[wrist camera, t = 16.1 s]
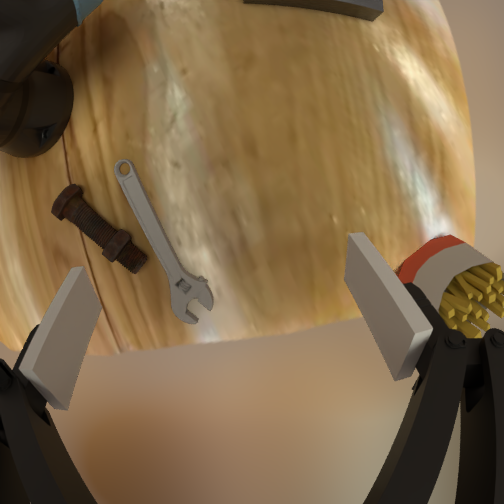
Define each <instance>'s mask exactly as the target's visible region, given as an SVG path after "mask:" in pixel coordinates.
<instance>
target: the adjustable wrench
mask: <svg viewBox="0 0 504 504" xmlns="http://www.w3.org/2000/svg"><path fill="white" fill-rule="evenodd" d="M122 163H128V164H129V166H130V172H129V173H128V174H127V175H122V174H121V173H120V171H119V167H120V165H121V164H122ZM114 172H115V175H116V177H117V179H118V181H119V183H120V185H121V187H122V190H123V192H124V194H125V196H126V198H127V200H128V202H129V204H130V206H131V208H132V210H133V212H134V214H135V216H136V218H137V220H138V221H139V223H140V225H141V227H142V229H143V231H144V233H145V235H146V237H147V239H148V240H149V242H150V244H151V246H152V248H153V250H154V252H155V253H156V255H157V257H158V259H159V261H160V262H161V264H162V266H163V268H164V270H165V271H166V274H167V276H168V279H169V284H170V291H171V307H172V310H173V312H174V314H175V315H176V316H177V317H178V318H179V319H180V320H182V321H183V322H186V323H188V324H196V323H198V319H199V318H197V317H196V316H195V315H193V314H192V313H191V312H190V311H188V310H187V304H188V302H190V301H191V299H195V298H198V302H199V303H201V304H202V305H203V306H204V307H206V308H207V309H208V310H209V311H211V310H212V307H213V295H212V292H211V290H210V288H209V286H208V285H207V282H208V280H207V279H204V277H202V276H200V277H199V278H198V277H196V276H194V275H192V274H190V273H189V272H188V271H186V270H185V268H184V267H183V266H182V264H181V263H180V261H179V259H178V257H177V255H176V253H175V251H174V249H173V247H172V245H171V243H170V241H169V239H168V237H167V235H166V233H165V231H164V229H163V227H162V225H161V223H160V221H159V219H158V217H157V215H156V212H155V210H154V208H153V206H152V204H151V202H150V200H149V198H148V195H147V193H146V191H145V189H144V187H143V184H142V182H141V180H140V178H139V176H138V173H137V171H136V169H135V167H134V164H133V163H132V161H130V160H128V159H123V160H119V161H118V162H117V163H116V164H115V167H114ZM181 278H182V280H180V279H181ZM179 280H180V282H179V283H177V282H178V281H179Z"/></svg>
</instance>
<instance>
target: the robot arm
mask: <svg viewBox="0 0 504 504" xmlns="http://www.w3.org/2000/svg"><path fill="white" fill-rule="evenodd" d="M102 1H103V0H0V150H1V151H3V152H5V153H8V154H10V155H12V156H15V157H21V158H25V157H33V156H37V155H40V154H42V153H44V152H46V151H47V150H48V149H50V148H51V147H52V146H53V145H54V144H55V143H56V142H57V140H58V139H59V138H60V136H61V135H62V133H63V131H64V129H65V127H66V125H67V123H68V120H69V118H70V114H71V110H72V105H73V87H72V82H71V79H70V77H69V75H68V73H67V71H66V70H65V69H64V68H63V67H62V66H60V65H59V64H56V63H54V62H51V61H48V60H43V59H44V58H45V57H46V56H47V55H48V54H49V53H50V52H51V51H52V50H53V49H54V48H55V47H56V46H57V45H58V43H59V42H60V41H61V40H62V39H63V38H64V37H65V36H67V35H68V34H69V33H70V32H71V31H72V30H73V29H74V28H75V27H76V26H77V27H78V26H80V25H81V24H82V21H83V20H84V19H85V18H86V17H87V16H88V15H89V14H90V13H91V12H92V11H93V10H94V9H96V8H97V7H98V6H99V5H100V4H101V3H102ZM344 280H345V282H346V284H347V286H348V288H349V290H350V292H351V294H352V295H353V297H354V299H355V301H356V303H357V305H358V307H359V309H360V311H361V313H362V315H363V317H364V319H365V320H366V323H367V325H368V327H369V328H370V331H371V333H372V335H373V337H374V339H375V341H376V343H377V345H378V347H379V349H380V351H381V353H382V355H383V357H384V359H385V362H386V363H387V366H388V368H389V370H390V372H391V374H392V377H393V379H394V381H397V380H401V379H404V378H407V377H410V376H411V375H412V374H413V371H414V370H415V368H416V369H417V370H418V372H419V374H420V375H419V377H418V379H417V380H416V382H415V384H414V386H413V388H412V390H413V393H412V396H411V399H410V402H409V405H408V408H407V411H406V413H405V416H404V418H403V421H402V424H401V426H400V429H399V431H398V433H397V436H396V438H395V440H394V443H393V445H392V447H391V450H390V452H389V454H388V456H387V459H386V460H385V463H384V465H383V467H382V469H381V471H380V473H379V475H378V477H377V479H376V481H375V483H374V485H373V487H372V488H371V490H370V492H369V494H368V496H367V498H366V499H365V501H364V503H363V504H427V503H428V501H429V498H430V496H431V494H432V491H433V489H434V486H435V484H436V481H437V478H438V476H439V473H440V470H441V467H442V464H443V461H444V458H445V455H446V452H447V449H448V445H449V442H450V439H451V435H452V431H453V428H454V424H455V420H456V415H457V411H458V407H459V403H461V406H460V407H461V408H460V409H461V435H460V459H459V473H458V482H457V491H456V499H455V504H504V332H503V331H501V330H499V329H496V328H492V329H489V330H487V331H486V333H485V335H484V337H483V338H466V336H465V335H464V334H463V333H462V332H460V331H458V330H456V329H449V328H448V326H447V325H446V323H445V322H444V320H443V319H442V317H441V316H440V315H439V313H438V312H437V310H436V309H435V308H434V306H433V305H431V302H430V301H429V299H427V297H426V295H425V294H424V293H423V291H422V290H421V289H420V288H419V287H417V286H416V285H414V284H413V283H412V282H409V283H404V284H402V282H401V281H400V280H399V278H398V277H397V276H396V274H395V273H394V272H393V270H392V269H391V268H390V266H389V265H388V264H387V262H386V261H385V260H384V258H383V257H382V256H381V254H380V253H379V252H378V250H377V249H376V248H375V247H374V245H373V244H372V243H371V242H370V240H369V239H368V238H367V236H366V235H365V234H364V233H363V232H359V233H350V234H349V235H348V247H347V258H346V267H345V277H344ZM101 309H102V306H101V304H100V302H99V300H98V298H97V295H96V293H95V291H94V289H93V286H92V284H91V282H90V280H89V277H88V275H87V273H86V270H85V268H84V266H81V267H73V268H71V270H70V272H69V273H68V275H67V277H66V278H65V280H64V282H63V283H62V285H61V287H60V288H59V290H58V292H57V294H56V295H55V297H54V299H53V301H52V302H51V304H50V306H49V308H48V310H47V312H46V313H45V315H44V317H43V319H42V321H41V323H40V324H38V325H37V326H36V327H35V328H34V329H33V330H32V331H31V332H30V334H29V336H28V338H27V340H26V341H27V342H25V344H24V346H23V349H22V350H21V353H20V355H19V357H18V359H17V361H16V363H15V366H14V368H13V370H11V368H10V367H9V366H8V365H7V363H6V362H5V361H4V360H3V359H0V504H30V502H31V504H97V502H96V501H95V499H94V497H93V496H92V494H91V493H90V491H89V490H88V488H87V486H86V485H85V483H84V481H83V480H82V478H81V476H80V474H79V473H78V471H77V469H76V467H75V465H74V464H73V462H72V460H71V458H70V456H69V454H68V452H67V450H66V448H65V446H64V444H63V442H62V440H61V438H60V436H59V433H58V431H57V429H56V427H55V425H54V422H53V420H52V418H51V415H50V413H49V411H48V410H47V409H46V407H45V406H46V403H47V402H48V403H49V404H50V405H51V406H52V407H53V408H54V409H61V410H68V408H69V404H70V400H71V397H72V394H73V390H74V387H75V383H76V380H77V377H78V374H79V371H80V368H81V364H82V361H83V358H84V355H85V353H86V350H87V347H88V344H89V341H90V338H91V336H92V333H93V330H94V327H95V325H96V322H97V319H98V317H99V314H100V312H101Z"/></svg>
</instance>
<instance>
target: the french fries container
mask: <svg viewBox="0 0 504 504" xmlns="http://www.w3.org/2000/svg"><path fill="white" fill-rule="evenodd" d="M398 278H399V280H400V281H401V282H402V284H404V283H409V282H412V283H413V284H414V285H416V286H417V287H419V288H420V289H421V290H422V291H423V293H424V294H425V295H426V297H427V299H429V301H430V302H431V305H433V306H434V308H435V309H436V310H437V312H438V313H439V315H440V316H441V317H442V319H443V320H444V322H445V323H446V325H447V326H448V328H449V329H456V330H458V331H460V332H462V333H463V334H464V335H465V336H466V338H482V336H481V331H480V330H479V329H477V328H476V327H475V326H473V325H472V324H471V322H472V323H473V324H475V325H476V326H478V327H479V328H481V329H483V330H484V331H487V330H489V329H490V325H489V324H488V323H487V322H486V321H487V320H488V318H489V314H488V312H487V311H486V309H487V308H488V309H489V310H491V311H492V312H493V313H495V314H496V315H497V316H499V317H500V318H502V317H504V308H503V307H504V296H503V295H504V273H503V272H502V271H501V266H500V265H497V264H495V263H494V262H493V261H491V260H490V259H488V258H487V257H486V256H484V255H483V254H482V253H480V252H479V251H477V250H476V249H474V248H473V247H471V246H470V245H469V244H467V243H466V242H464V241H462V240H460V239H458V238H456V237H454V236H452V235H448V236H444V237H440V238H437V239H433V240H430V241H429V242H427V243H426V244H425V245H424V246H422V247H421V248H420V249H419V250H417V251H416V252H415V253H414V254H412V255H411V256H410V257H409V258H407V259H406V260H405V261H404V263H403V266H402V268H401V271H400V273H399V276H398ZM501 294H503V295H501ZM496 302H497V303H496Z"/></svg>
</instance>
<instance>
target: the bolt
mask: <svg viewBox="0 0 504 504" xmlns="http://www.w3.org/2000/svg"><path fill="white" fill-rule="evenodd" d="M82 194H83V193H82V191H81V189H80V188H79V187H78V186H77V185H76V184H72V185H69V186H67V187H66V188H65V189H64V190H63V191H62V192H61V193H60V195H59V196H58V197H57V199H56V200H55V201H54V204H53V206H52V211H51V213H52V214H53V215H54V216H56V217H57V218H58V219H59V220H61V221H62V220H63V219H64V218H65V217H66V218H67V219H68V220H69V221H70V222H72V223H73V224H75V225H76V226H77V227H79V229H80V230H82V232H84V234H86V235H87V236H88V237H89V238H91V239H93V241H95V243H96V244H98V246H99V245H100V247H102V249H103V248H104V250H103V252H102V255H103V256H105V257H106V258H107V259H108V260H109V261H111V262H114V261H115V260H116V259H117V261H119V262H120V264H122V266H123V265H124V267H126V269H127V268H128V270H130V272H131V271H132V273H134V274H136V273H137V272H138V271H139V270H140V268H141V267H142V266H143V264H144V263H145V262H146V260H147V256H145V254H143V253H141V251H139V250H137V248H136V246H135V247H134V245H132V243H131V244H130V242H129V241H130V239H131V237H130V235H129V234H127V233H126V232H125V231H124V230H122V229H120V230H119V231H118V232H117V231H115V230H113V229H114V228H112V226H111V227H110V225H108V223H106V222H105V220H103V219H101V217H100V216H98V214H96V212H95V213H94V211H93V210H92V209H91V208H89V206H88V205H87V204H86V203H85V202H84V201H83V200H82V199H81V198H80V197H81V196H82Z"/></svg>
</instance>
